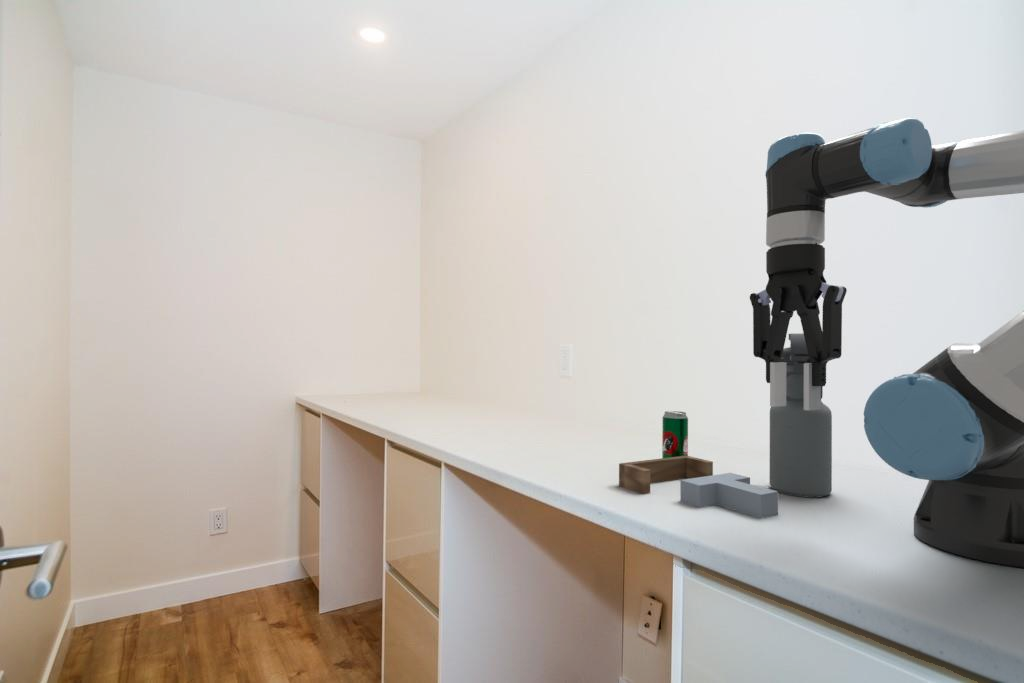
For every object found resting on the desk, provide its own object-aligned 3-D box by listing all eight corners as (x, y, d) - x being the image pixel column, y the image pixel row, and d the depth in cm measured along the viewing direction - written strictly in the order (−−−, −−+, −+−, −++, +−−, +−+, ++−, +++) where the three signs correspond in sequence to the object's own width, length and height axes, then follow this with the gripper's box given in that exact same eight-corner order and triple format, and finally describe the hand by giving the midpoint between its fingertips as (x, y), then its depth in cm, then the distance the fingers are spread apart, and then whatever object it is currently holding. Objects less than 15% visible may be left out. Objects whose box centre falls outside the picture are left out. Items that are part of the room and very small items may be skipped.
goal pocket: (712, 483, 101) (712, 461, 101) (643, 493, 93) (643, 470, 93) (686, 475, 107) (686, 455, 107) (619, 485, 98) (619, 463, 99)
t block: (742, 522, 78) (742, 498, 78) (680, 501, 89) (680, 480, 89) (794, 511, 84) (794, 488, 84) (730, 492, 94) (730, 472, 94)
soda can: (689, 473, 108) (689, 414, 108) (663, 472, 109) (663, 413, 109) (686, 468, 113) (686, 411, 113) (661, 467, 114) (661, 410, 114)
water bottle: (835, 501, 89) (835, 332, 89) (769, 494, 93) (770, 332, 94) (828, 487, 98) (828, 334, 99) (769, 481, 102) (769, 334, 103)
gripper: (874, 238, 72) (874, 413, 72) (758, 257, 88) (758, 401, 87) (841, 232, 69) (841, 416, 68) (726, 253, 84) (726, 403, 84)
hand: (794, 407), depth 78 cm, fingers open, 4 cm apart
